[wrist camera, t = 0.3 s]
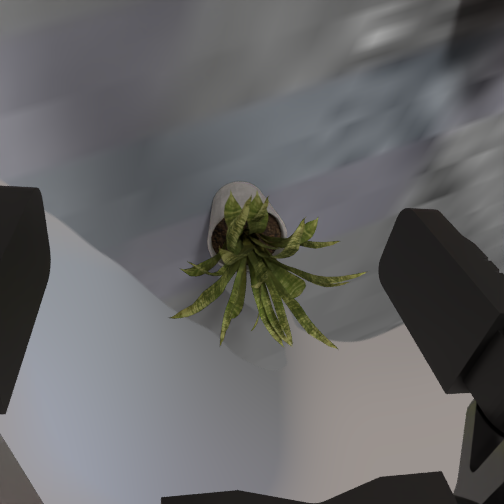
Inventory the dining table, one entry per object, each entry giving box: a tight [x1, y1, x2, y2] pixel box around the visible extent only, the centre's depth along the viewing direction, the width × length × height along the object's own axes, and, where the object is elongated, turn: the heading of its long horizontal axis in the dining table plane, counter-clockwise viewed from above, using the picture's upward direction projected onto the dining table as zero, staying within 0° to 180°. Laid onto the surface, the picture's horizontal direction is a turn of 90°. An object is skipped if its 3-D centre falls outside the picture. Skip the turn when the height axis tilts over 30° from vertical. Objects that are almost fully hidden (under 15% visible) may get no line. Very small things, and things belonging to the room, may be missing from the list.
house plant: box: [171, 181, 366, 348], centre depth 37 cm, size 14×14×16 cm
